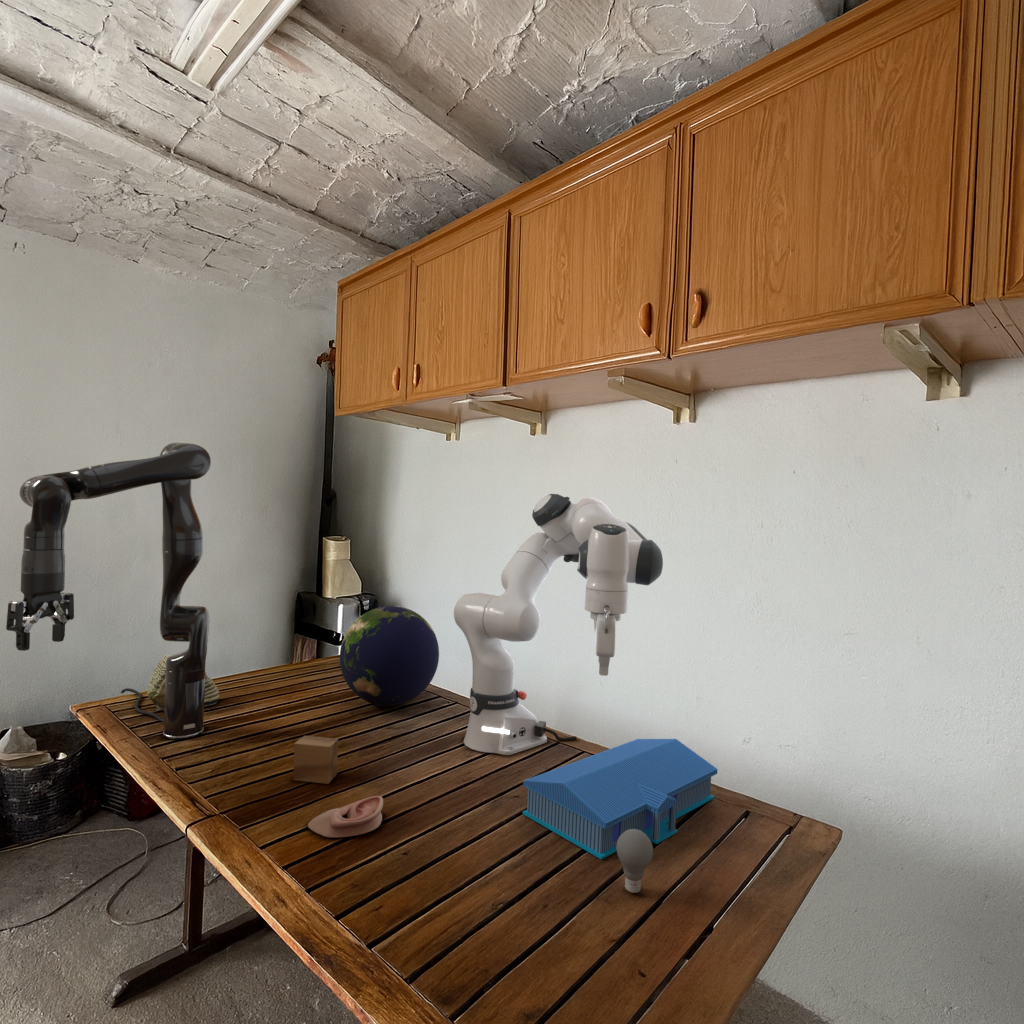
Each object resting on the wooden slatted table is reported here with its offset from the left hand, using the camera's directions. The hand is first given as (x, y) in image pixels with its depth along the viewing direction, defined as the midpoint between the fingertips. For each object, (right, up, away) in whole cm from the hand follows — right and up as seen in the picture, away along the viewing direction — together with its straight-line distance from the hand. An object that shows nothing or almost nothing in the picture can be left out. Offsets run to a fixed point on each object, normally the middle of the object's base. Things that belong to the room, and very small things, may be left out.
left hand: (41, 645), depth 135 cm
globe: (+62, -31, +60) cm, 92 cm away
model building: (+125, -35, -1) cm, 130 cm away
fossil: (+5, -28, +50) cm, 57 cm away
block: (+56, -31, +7) cm, 65 cm away
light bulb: (+121, -35, -30) cm, 129 cm away
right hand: (+120, -4, -3) cm, 120 cm away
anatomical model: (+68, -32, -12) cm, 77 cm away
